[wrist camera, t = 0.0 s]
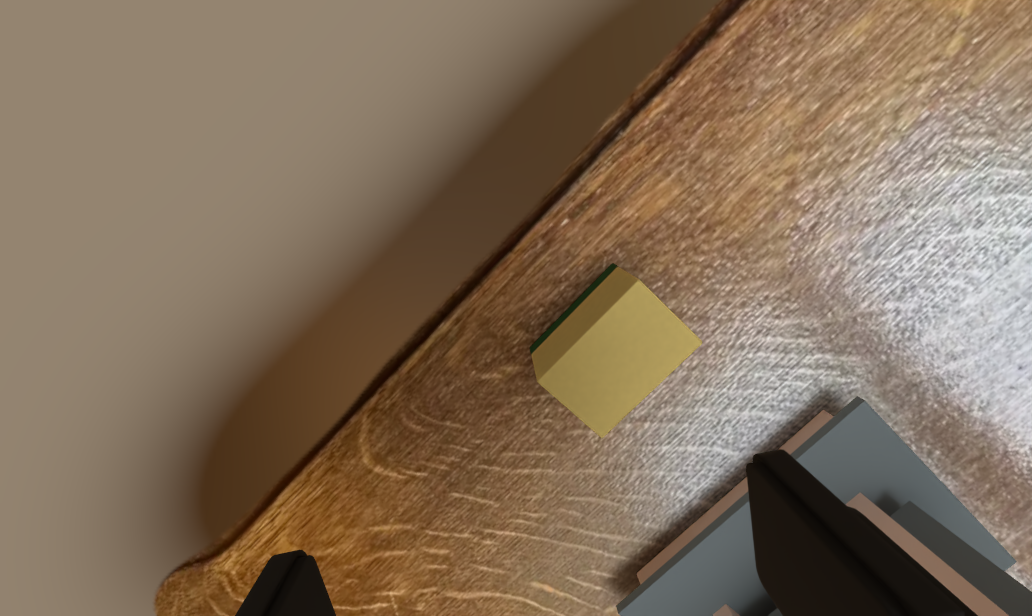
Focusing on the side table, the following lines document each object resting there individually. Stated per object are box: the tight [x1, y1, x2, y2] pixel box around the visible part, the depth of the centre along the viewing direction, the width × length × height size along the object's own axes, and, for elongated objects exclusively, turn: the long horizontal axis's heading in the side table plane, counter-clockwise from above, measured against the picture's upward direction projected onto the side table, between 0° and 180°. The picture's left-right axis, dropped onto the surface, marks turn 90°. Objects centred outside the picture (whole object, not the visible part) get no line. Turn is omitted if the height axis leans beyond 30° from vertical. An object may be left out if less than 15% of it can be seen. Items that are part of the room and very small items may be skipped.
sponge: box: [530, 263, 702, 438], centre depth 22 cm, size 6×4×4 cm, turn 137°
